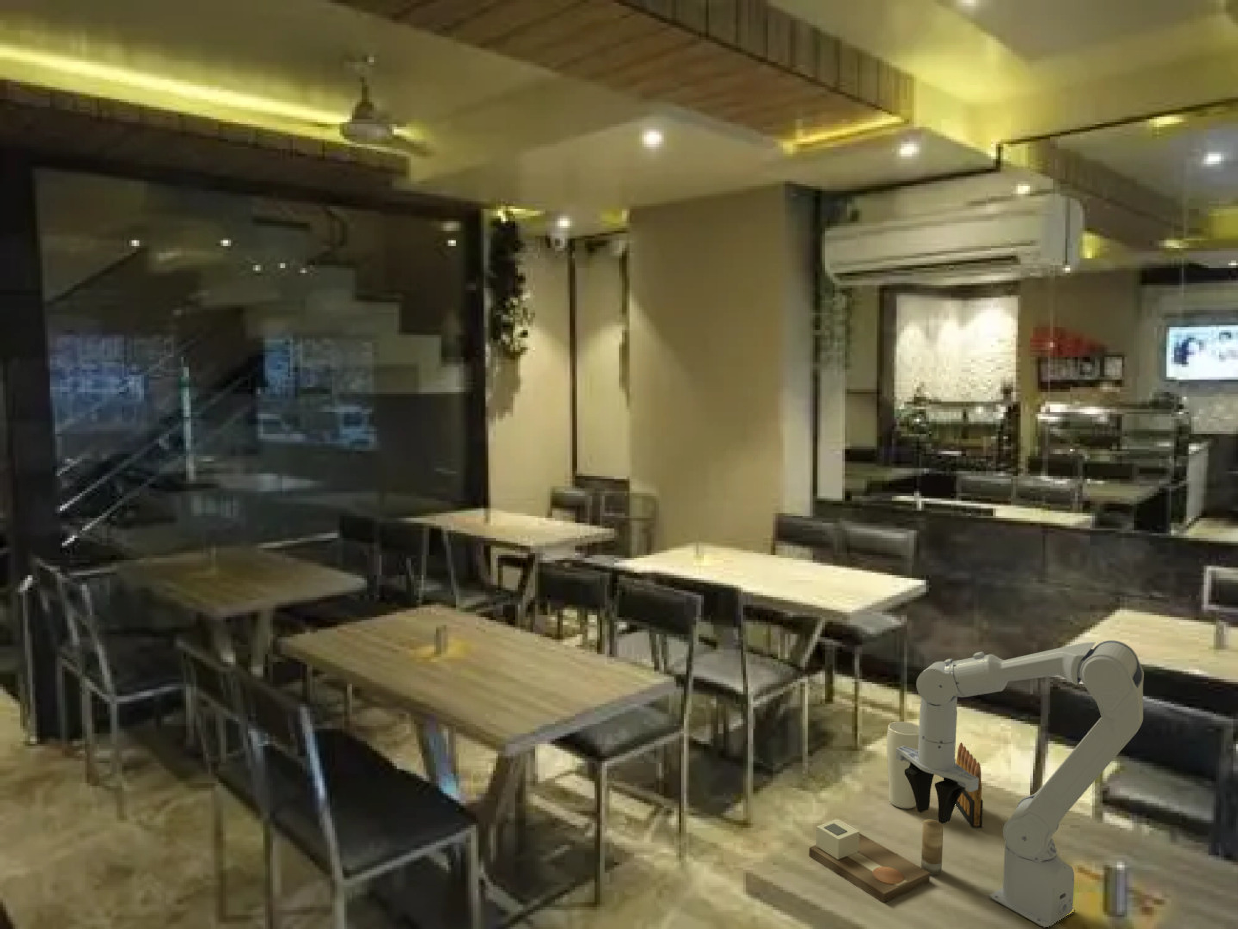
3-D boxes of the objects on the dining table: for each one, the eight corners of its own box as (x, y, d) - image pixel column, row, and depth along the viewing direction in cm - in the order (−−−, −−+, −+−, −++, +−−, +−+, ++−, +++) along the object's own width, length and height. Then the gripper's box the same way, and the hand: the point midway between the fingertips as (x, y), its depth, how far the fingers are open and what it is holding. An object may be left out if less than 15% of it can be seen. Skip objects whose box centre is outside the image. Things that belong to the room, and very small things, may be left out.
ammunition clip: (951, 800, 171) (954, 740, 170) (961, 800, 171) (964, 740, 170) (971, 828, 160) (975, 764, 159) (982, 828, 160) (985, 764, 159)
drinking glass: (914, 815, 165) (917, 738, 163) (879, 804, 169) (882, 729, 167) (926, 802, 170) (929, 726, 169) (891, 791, 174) (894, 718, 173)
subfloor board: (929, 881, 143) (929, 872, 143) (883, 903, 137) (884, 892, 137) (853, 838, 156) (854, 829, 156) (809, 856, 150) (809, 846, 150)
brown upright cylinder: (945, 872, 146) (947, 826, 145) (933, 878, 144) (935, 831, 143) (929, 863, 149) (931, 817, 148) (916, 868, 147) (918, 822, 146)
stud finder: (858, 851, 149) (859, 830, 149) (838, 859, 146) (838, 838, 146) (836, 838, 153) (837, 818, 153) (815, 846, 150) (816, 825, 150)
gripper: (991, 746, 140) (987, 828, 142) (916, 717, 152) (913, 792, 154) (964, 756, 136) (960, 840, 138) (889, 725, 148) (886, 803, 150)
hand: (933, 816), depth 145 cm, fingers open, 4 cm apart
